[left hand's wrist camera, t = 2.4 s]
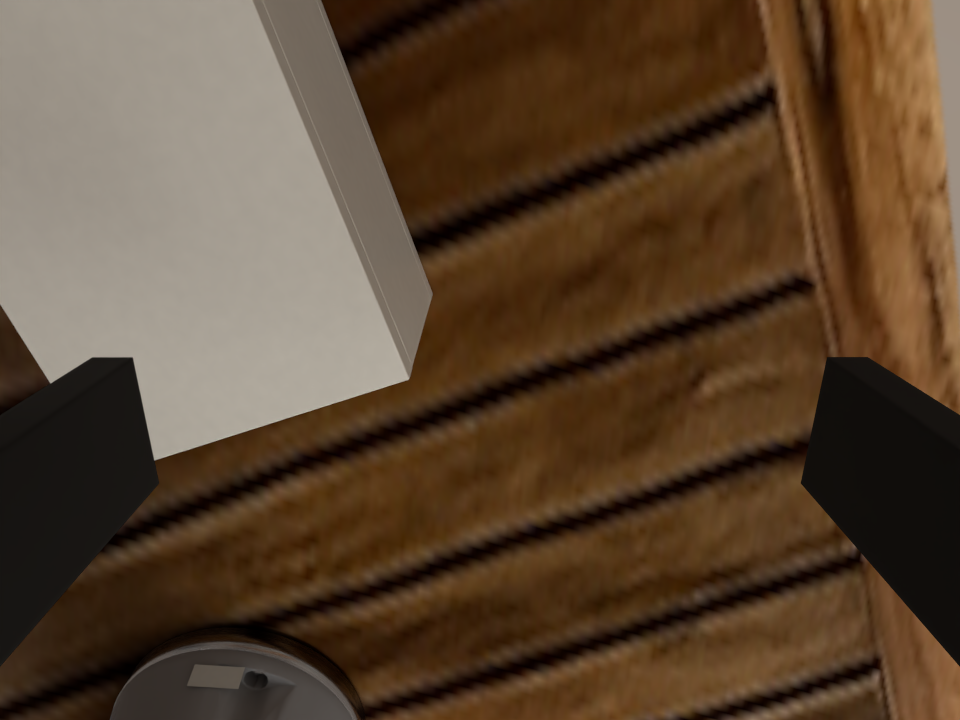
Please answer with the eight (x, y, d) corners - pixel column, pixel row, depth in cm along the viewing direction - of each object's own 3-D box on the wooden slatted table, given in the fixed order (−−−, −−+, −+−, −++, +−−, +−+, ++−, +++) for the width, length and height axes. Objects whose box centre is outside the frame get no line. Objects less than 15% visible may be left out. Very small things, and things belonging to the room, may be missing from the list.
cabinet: (-20, -97, 25) (-341, -230, 15) (239, -215, 24) (68, -444, 14) (222, 364, 32) (108, 475, 22) (433, 294, 31) (409, 379, 21)
